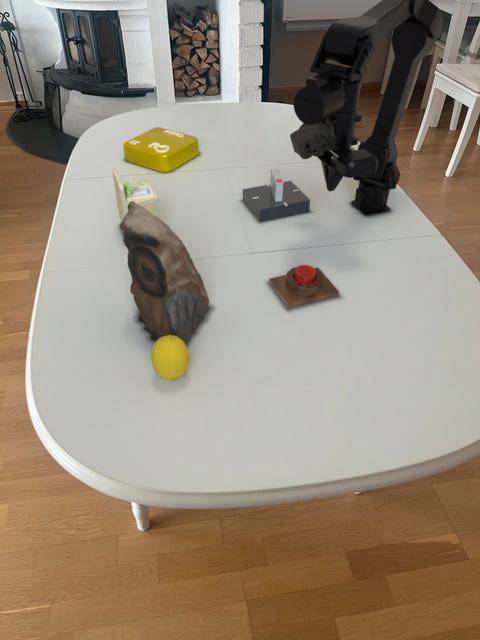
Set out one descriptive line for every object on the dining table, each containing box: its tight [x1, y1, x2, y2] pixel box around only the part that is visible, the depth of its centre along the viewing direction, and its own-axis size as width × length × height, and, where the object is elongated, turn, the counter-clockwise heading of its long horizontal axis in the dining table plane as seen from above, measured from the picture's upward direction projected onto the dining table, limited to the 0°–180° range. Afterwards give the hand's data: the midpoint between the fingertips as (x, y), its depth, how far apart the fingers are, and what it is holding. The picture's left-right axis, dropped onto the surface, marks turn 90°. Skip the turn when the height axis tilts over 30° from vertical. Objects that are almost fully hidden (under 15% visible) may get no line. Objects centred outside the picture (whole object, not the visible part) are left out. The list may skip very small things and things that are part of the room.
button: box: [294, 264, 316, 284], centre depth 92 cm, size 4×4×2 cm
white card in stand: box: [269, 167, 284, 202], centre depth 114 cm, size 7×2×5 cm, turn 6°
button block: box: [269, 266, 340, 310], centre depth 94 cm, size 10×8×3 cm
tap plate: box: [242, 180, 311, 223], centre depth 117 cm, size 12×11×3 cm
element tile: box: [122, 126, 200, 173], centre depth 136 cm, size 15×15×5 cm
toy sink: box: [111, 168, 159, 233], centre depth 105 cm, size 8×7×13 cm
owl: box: [119, 201, 211, 345], centre depth 81 cm, size 13×13×20 cm
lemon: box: [150, 335, 191, 381], centre depth 76 cm, size 6×6×8 cm
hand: (330, 190), depth 99 cm, fingers closed
